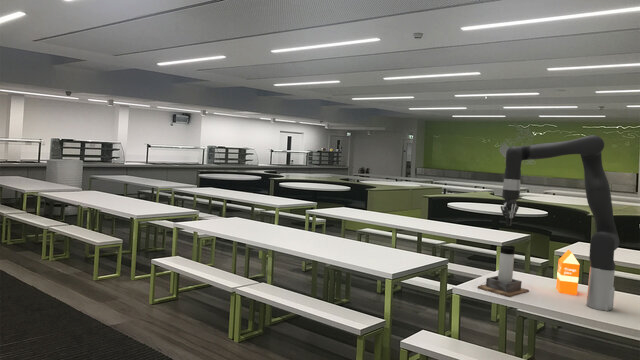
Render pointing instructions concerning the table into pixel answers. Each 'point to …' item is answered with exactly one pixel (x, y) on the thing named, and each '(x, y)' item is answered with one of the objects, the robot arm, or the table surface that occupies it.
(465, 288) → the table surface
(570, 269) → the orange juice
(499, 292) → the grey tray on board
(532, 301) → the table surface
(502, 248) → the travel mug
